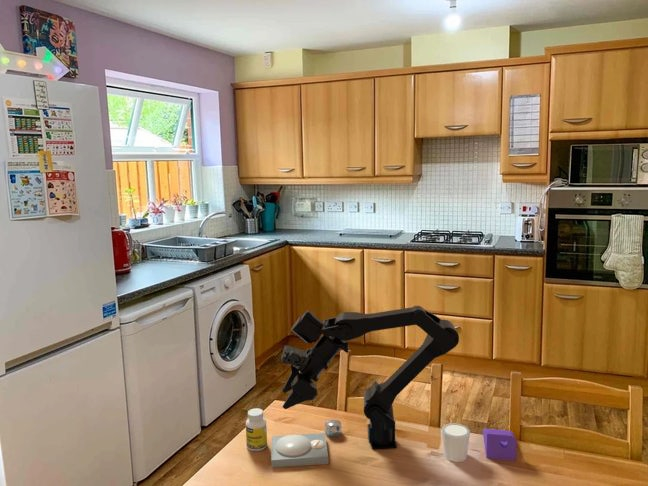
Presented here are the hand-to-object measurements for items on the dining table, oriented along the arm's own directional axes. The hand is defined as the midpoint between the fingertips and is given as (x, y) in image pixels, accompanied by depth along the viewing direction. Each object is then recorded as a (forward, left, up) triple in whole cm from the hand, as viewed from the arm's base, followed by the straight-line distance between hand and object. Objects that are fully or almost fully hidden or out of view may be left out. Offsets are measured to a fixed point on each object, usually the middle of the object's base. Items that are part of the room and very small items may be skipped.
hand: (283, 399), depth 138 cm
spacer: (-13, -4, -13) cm, 19 cm away
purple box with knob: (-55, +7, -13) cm, 57 cm away
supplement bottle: (+8, 0, -13) cm, 15 cm away
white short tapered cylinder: (-42, +10, -13) cm, 46 cm away
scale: (-3, +4, -13) cm, 14 cm away
